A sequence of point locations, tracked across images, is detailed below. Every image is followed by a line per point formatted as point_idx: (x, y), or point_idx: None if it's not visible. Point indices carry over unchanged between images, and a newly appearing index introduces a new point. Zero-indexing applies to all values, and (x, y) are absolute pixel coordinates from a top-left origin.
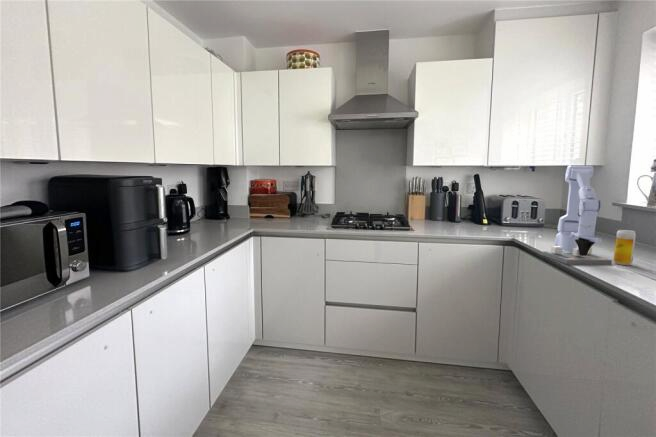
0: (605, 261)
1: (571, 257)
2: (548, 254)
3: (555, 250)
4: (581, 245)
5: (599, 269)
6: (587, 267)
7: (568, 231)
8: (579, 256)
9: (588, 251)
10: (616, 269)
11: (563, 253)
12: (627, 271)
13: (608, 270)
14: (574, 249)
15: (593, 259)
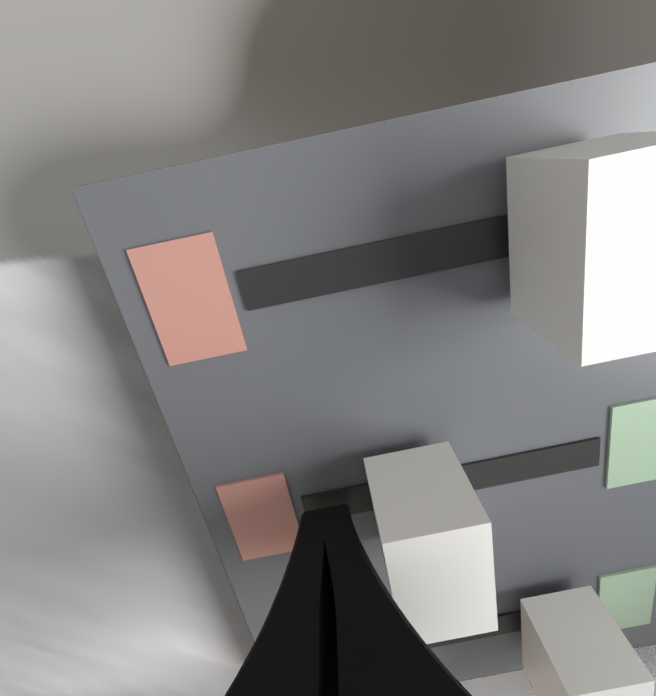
0: None
1: (311, 364)
2: (577, 80)
3: (538, 175)
4: (282, 677)
5: (2, 488)
6: (44, 402)
7: None
8: None
9: (535, 668)
10: (92, 628)
11: (576, 369)
12: (52, 673)
13: (2, 551)
14: (446, 518)
15: (262, 580)
